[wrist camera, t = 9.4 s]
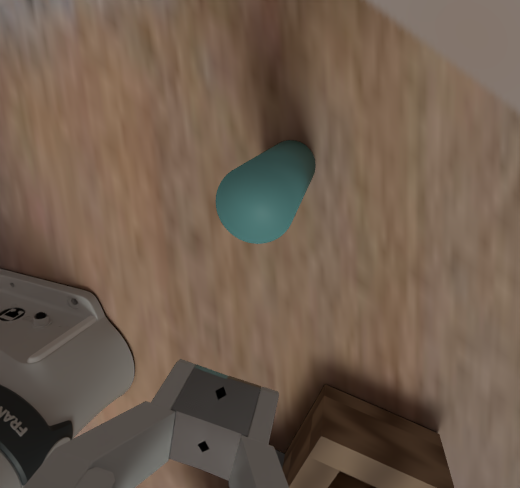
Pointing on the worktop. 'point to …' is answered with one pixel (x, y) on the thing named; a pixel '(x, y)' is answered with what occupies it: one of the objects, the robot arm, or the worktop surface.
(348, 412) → the socket block
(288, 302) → the worktop surface
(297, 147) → the dowel
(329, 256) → the worktop surface
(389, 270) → the worktop surface
